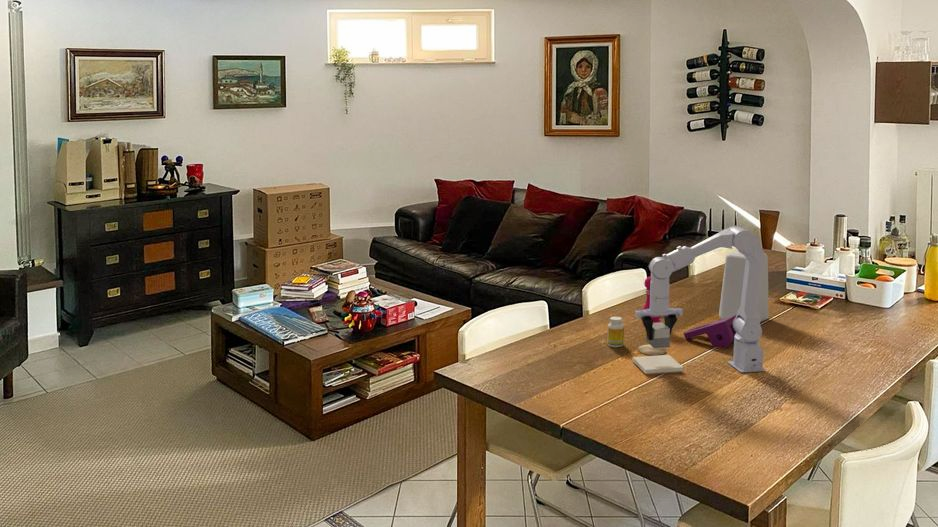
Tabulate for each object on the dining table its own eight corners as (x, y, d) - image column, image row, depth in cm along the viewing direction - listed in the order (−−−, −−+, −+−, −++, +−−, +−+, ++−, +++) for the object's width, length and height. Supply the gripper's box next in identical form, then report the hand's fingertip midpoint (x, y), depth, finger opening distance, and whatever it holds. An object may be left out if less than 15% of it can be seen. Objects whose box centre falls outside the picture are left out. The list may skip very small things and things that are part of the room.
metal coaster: (669, 354, 266) (669, 352, 266) (643, 355, 265) (643, 354, 265) (660, 345, 275) (660, 344, 275) (634, 347, 274) (634, 345, 274)
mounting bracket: (687, 358, 280) (734, 345, 268) (678, 335, 281) (724, 321, 269) (699, 351, 287) (745, 338, 275) (691, 328, 288) (736, 314, 276)
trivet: (683, 372, 249) (683, 367, 249) (645, 375, 248) (645, 369, 247) (668, 360, 261) (668, 354, 260) (632, 362, 259) (632, 357, 259)
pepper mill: (637, 323, 300) (638, 271, 296) (653, 321, 303) (655, 269, 299) (649, 329, 294) (651, 275, 290) (665, 326, 297) (667, 272, 292)
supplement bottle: (605, 343, 279) (606, 316, 277) (621, 342, 280) (621, 315, 277) (609, 347, 274) (609, 320, 272) (625, 347, 274) (625, 320, 272)
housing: (669, 347, 250) (670, 328, 248) (654, 348, 249) (654, 329, 248) (661, 340, 256) (662, 322, 255) (646, 341, 256) (646, 323, 254)
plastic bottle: (736, 311, 314) (740, 240, 308) (772, 319, 303) (777, 245, 297) (714, 318, 305) (717, 245, 299) (750, 327, 293) (754, 251, 287)
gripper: (677, 292, 254) (675, 333, 257) (632, 294, 252) (631, 336, 255) (686, 297, 247) (684, 340, 250) (640, 300, 245) (638, 343, 248)
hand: (658, 338), depth 252 cm, fingers closed on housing, 5 cm apart
